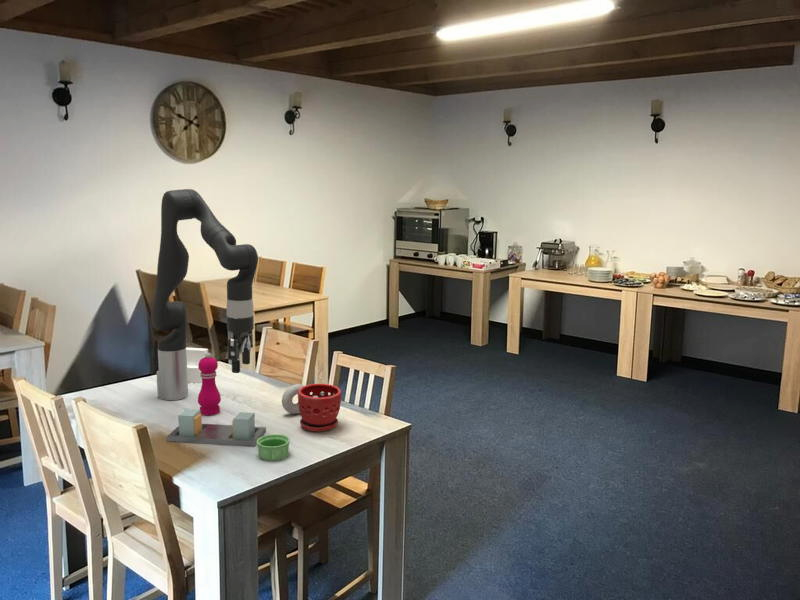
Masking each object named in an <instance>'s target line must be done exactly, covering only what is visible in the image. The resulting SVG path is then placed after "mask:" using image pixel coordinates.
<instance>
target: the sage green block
mask: <svg viewBox="0 0 800 600" xmlns="http://www.w3.org/2000/svg"><path fill="white" fill-rule="evenodd" d="M202 416H203V415H202V414H201V413H200V409H196V408H192V409H191V408H186V409H184V410H183V411H182V412H180V414H178V416H177V417H178V418H177V420H178V426H179V435H180V436H197V435H198V434H199V433H200V432H201V431H202V424H203V422H202V421H203V418H202Z"/></svg>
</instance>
